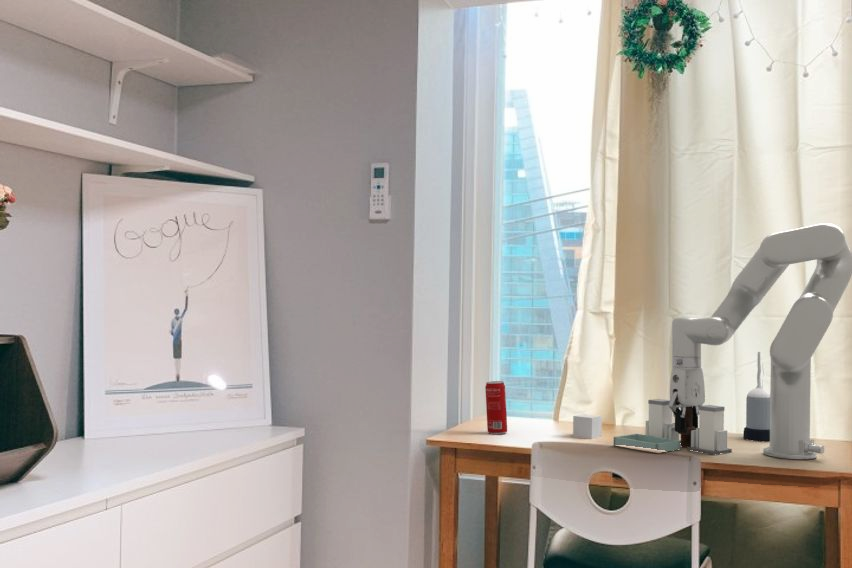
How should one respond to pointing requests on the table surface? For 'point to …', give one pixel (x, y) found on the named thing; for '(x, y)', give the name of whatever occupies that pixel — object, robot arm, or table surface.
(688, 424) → the bolt
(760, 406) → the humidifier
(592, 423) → the light grey cube
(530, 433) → the table surface
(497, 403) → the beverage can
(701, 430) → the block
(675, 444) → the tray
